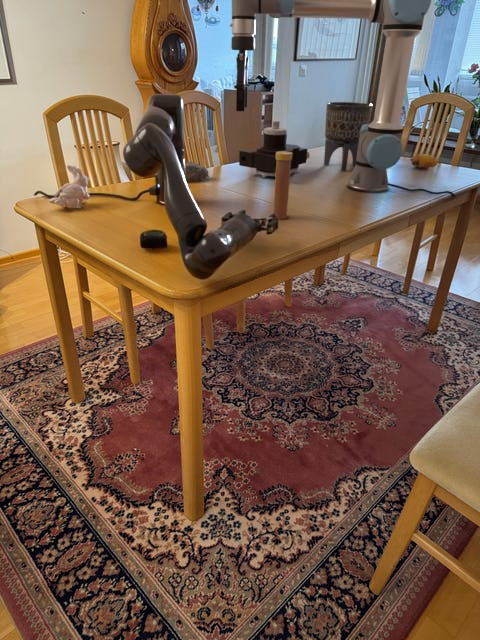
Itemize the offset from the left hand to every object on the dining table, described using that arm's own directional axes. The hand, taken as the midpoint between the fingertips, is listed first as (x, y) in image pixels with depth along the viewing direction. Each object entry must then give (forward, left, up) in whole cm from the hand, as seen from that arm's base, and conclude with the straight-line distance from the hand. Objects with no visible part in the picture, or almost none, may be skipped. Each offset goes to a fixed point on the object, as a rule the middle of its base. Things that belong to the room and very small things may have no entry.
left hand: (259, 215), depth 123 cm
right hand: (-23, +44, +22) cm, 54 cm away
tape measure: (-21, -20, -6) cm, 30 cm away
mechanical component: (-19, +80, -6) cm, 82 cm away
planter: (+3, +105, -6) cm, 106 cm away
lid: (0, +20, +13) cm, 24 cm away
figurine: (-65, +1, -6) cm, 65 cm away
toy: (+37, +123, -6) cm, 129 cm away
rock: (-47, +52, -6) cm, 70 cm away
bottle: (0, +20, -6) cm, 21 cm away
